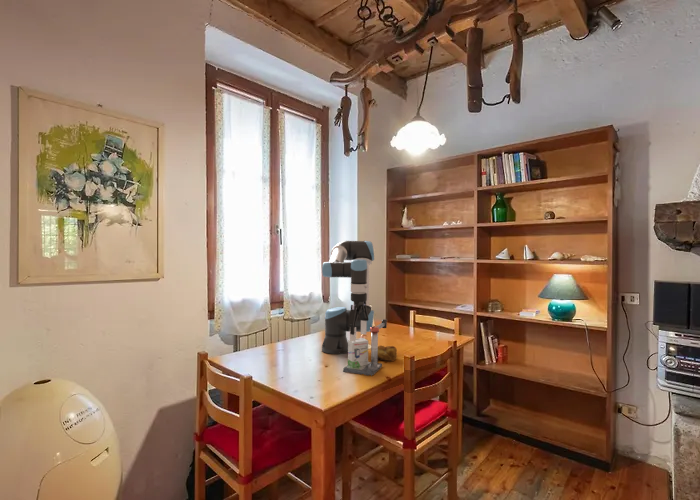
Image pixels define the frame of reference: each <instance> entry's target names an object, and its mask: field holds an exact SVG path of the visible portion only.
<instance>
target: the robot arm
mask: <svg viewBox="0 0 700 500" xmlns="http://www.w3.org/2000/svg"><path fill="white" fill-rule="evenodd" d="M346 261H349V262H346ZM374 261H375V253H374V245H373V242H372V241H369V240H344V241H340V242H338V243H337V244H335V245H334V246H333V247H332V249H331V252H330V258H329V261H324V262H323V263H322V266H321V273H322V277H324V278H347V279H348V278H350V292H351V293H350V301H351V302H353V304H350V309H348V308H347V307H346V306H336V307H332V308H328V309H327V310H325V314H324V319H325V320H324V322H325V323H324V337H323V341H322V345H321V352H323V353H325V354H331V355H341V354H347V353H348V337H347V332H349V340H350V341H353V342H356V339H357V333H360V335H367V333H369V332H370V327H373V324H374V315H375V310H373V309H372V306H371V305H370V266H371V265H372V262H374ZM370 333H371V332H370Z"/></svg>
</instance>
